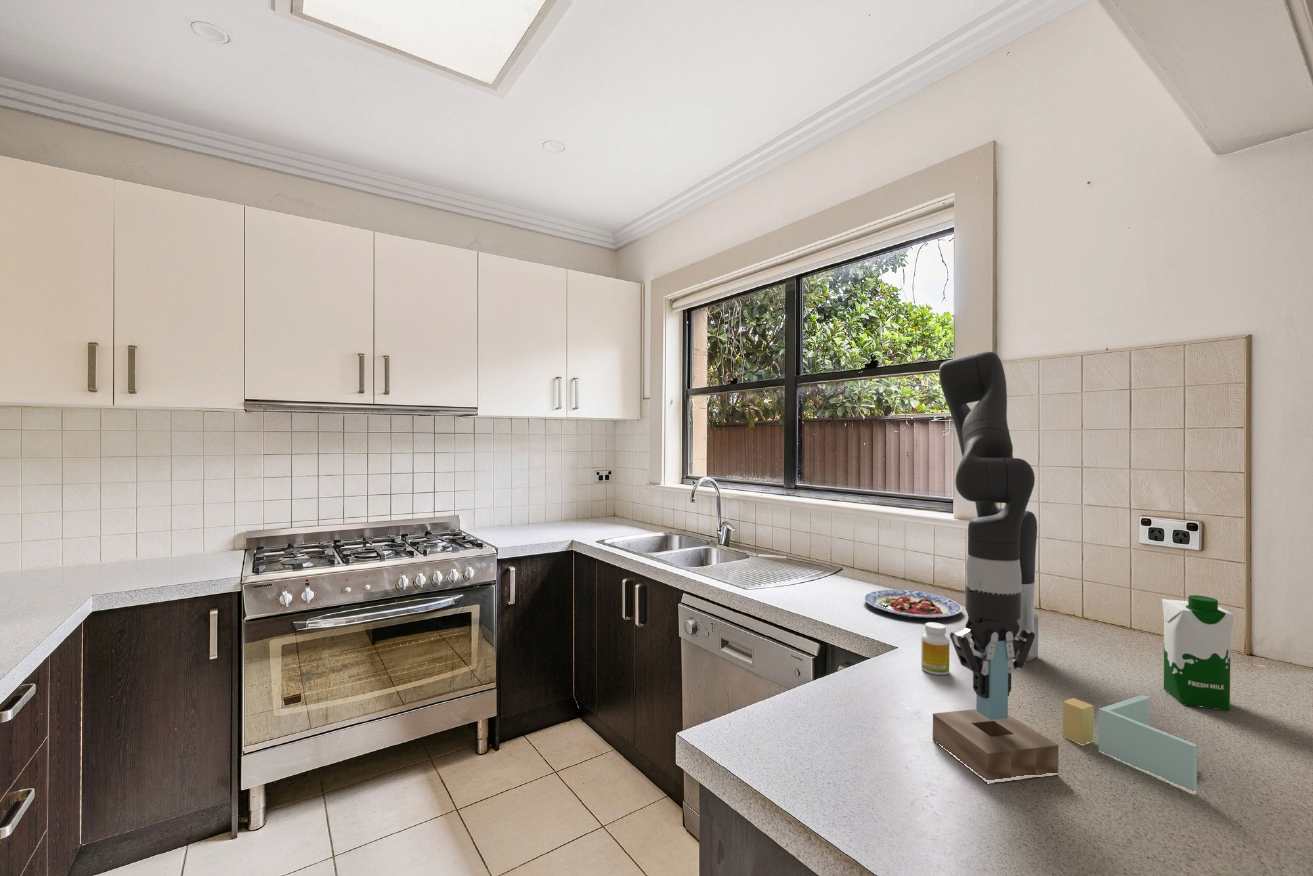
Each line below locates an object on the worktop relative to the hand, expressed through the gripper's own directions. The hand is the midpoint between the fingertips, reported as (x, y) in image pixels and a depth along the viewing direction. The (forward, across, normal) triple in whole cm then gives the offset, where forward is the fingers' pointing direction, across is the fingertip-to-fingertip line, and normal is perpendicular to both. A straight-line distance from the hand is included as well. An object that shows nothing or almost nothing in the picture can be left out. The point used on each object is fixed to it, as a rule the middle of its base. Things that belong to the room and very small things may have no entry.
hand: (991, 694), depth 90 cm
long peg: (+3, 0, 0) cm, 3 cm away
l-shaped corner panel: (+11, -25, +6) cm, 28 cm away
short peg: (+10, -18, -2) cm, 21 cm away
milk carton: (+10, -53, -10) cm, 55 cm away
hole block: (+10, 0, 0) cm, 10 cm away
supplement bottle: (+10, -13, -31) cm, 35 cm away
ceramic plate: (+10, -35, -71) cm, 80 cm away
